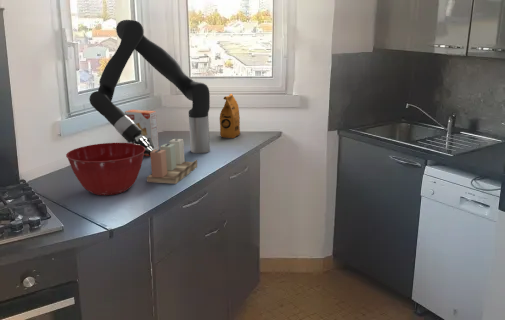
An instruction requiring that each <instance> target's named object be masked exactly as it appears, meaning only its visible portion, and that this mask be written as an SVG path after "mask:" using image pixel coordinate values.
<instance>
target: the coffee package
mask: <svg viewBox="0 0 505 320" xmlns="http://www.w3.org/2000/svg"><path fill="white" fill-rule="evenodd" d="M223 100H224V101H225V102H224V105H223V107H222V109H221V110H220V113H219V128H220V129H219V132H220V135H219V136H220V137H221V138H226V139H235V138H236V137H238V136H240V134H241V123H240V122H241V121H240V108H239V104H238V102H237V100H236V98H235V97H234V96H233V93H229V95H228V96H224V97H223Z"/></svg>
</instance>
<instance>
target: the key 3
mask: <svg viewBox="0 0 505 320" xmlns="http://www.w3.org/2000/svg"><path fill="white" fill-rule="evenodd" d="M149 158H150V167H151V168H150V169H151V174H152V177H164V176H165V175H167V162H166V150H161V149H160V148H159V150H153V151H152V152H150V156H149Z"/></svg>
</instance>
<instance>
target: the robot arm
mask: <svg viewBox="0 0 505 320" xmlns="http://www.w3.org/2000/svg"><path fill="white" fill-rule="evenodd" d="M115 30H116V31H115V32H116V34H117V36H118V38H119V39H120V42H119V45H118V47H117V49H116V50H115V52H114V54H113V55H112V56H111V57H110V59H109V61H108V62H107V64H105V67H104V69H103V71H102V74H101V76H100V78H99V81H98V82H99V88H98V90H97V91H94V92H92V93H91V94H90V95H89V98H88V101H89V103H90V105H91V106H92V107H93V108H94V110H96V111H97V112H98V113H99V114H101V115H102V116H103V117H104V118H105V119H106V120H107V121H108V123H110V125H112V126H113V127H114V129H115V130H116V131H117V132H118V134H119V135H121V137H122V138H124V139H125V141H126V143H127V142H129V143H130V142H132V144H138V145H141V146H143V147H144V148H145V151H144V155H143V156H145V154H147V155H149V156H148V157H150V152H152V151H153V148H154V145H153V142H152V140H151V138H150V137H149V138H146V137H145V136H144V135H142V134H141V132H142V130H141V129H140V128H139V127H138V126H137V125H136V124H135V123H134V122H133V121H132V120H131V119H130V118H129V117H128V116H127V115H126V114H125V111H122V109H120V108H119V107H118V106H116V105H115V104H114V102H113V97H114V94H115V89H116V87H117V85H118V82H119V80H120V78H121V76H122V73H123V71H124V69H125V67H126V65H127V63H128V61H129V60H130V58H131V56H132V54H134V52H135V51H136V52H137V53H138V54H139V55H140V56H141V57H142V58H143V59H144V60H145V61H146V62H147V63H148V64H149V65H151V66H152V67H153V69H155V70H156V71H157V72H158V73H159V74H160V75H162V76H163V77H164V78H165V79H166V80H167V81H169V82H170V83H172V84H173V85H174V86H175V88H177V89H178V90H179V91H180V92H181V94H183V96H184V97H185V98H186V99H188V100H189V101H191V102H192V104H191V105H192V106H191V109H188V124H189V140H190V142H189V143H190V144H189V145H190V152H191V153H192V154H206V153H209V152H210V151H211V144H210V140H211V139H210V126H209V125H210V124H209V123H210V122H209V111H210V108H211V107H210V106H211V105H210V104H211V100H210V98H211V97H210V95H211V94H210V89H209V86H208V85H207V84H206V83H204V82H199V81H197V80H196V81H195V80H194V79H192V78H191V77H190V76H188V75H187V74H186V73H185V72H184V71H183V69H182V67H181V65H180V63H179V62H178V60H177V59H176V58H175V57H174V56H173V55H172V54H171V53H169V52H168V51H167V50H166V49H164V48H163V47H161V46H160V45H159V44H157V43H154V41H152V40H150V39H149V38H148V37H147V36H145V35H144V33H145V30H144V26H143V24H142V23H141V22H139V21H137V20H134V19H133V20H132V19H123V20H121V21H119V22H118V23H117V24H116V28H115Z"/></svg>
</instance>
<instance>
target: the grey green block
mask: <svg viewBox="0 0 505 320" xmlns="http://www.w3.org/2000/svg"><path fill="white" fill-rule="evenodd" d="M159 149H161V150H166V162H167V170H169V171H172V170H174V169H175V168H176V155H175V144H169V143H164V144H162V145H160V147H159Z"/></svg>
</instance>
